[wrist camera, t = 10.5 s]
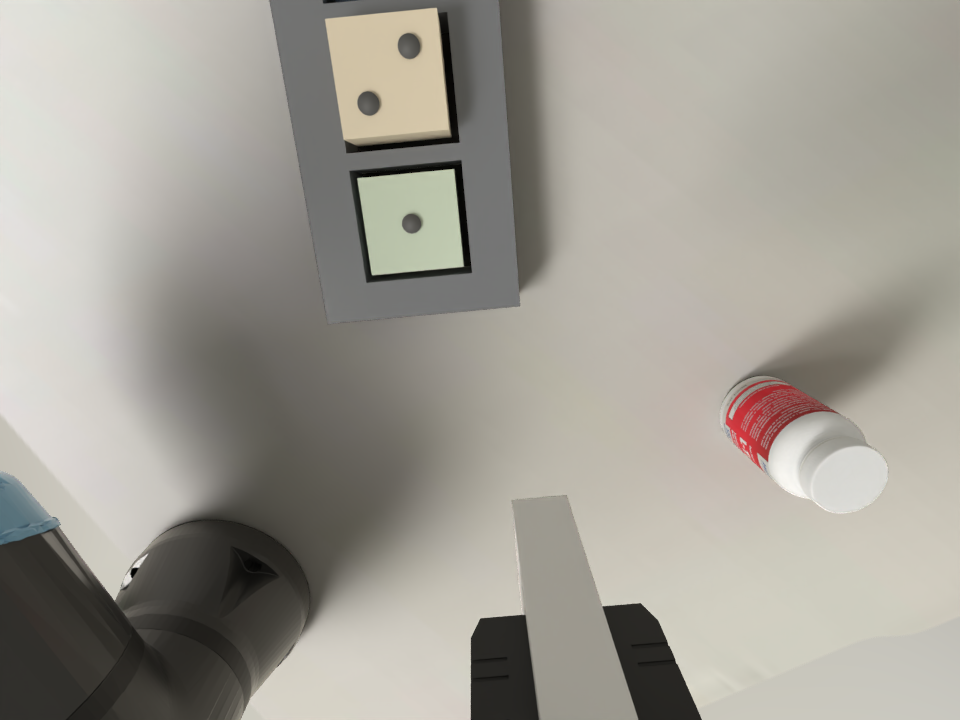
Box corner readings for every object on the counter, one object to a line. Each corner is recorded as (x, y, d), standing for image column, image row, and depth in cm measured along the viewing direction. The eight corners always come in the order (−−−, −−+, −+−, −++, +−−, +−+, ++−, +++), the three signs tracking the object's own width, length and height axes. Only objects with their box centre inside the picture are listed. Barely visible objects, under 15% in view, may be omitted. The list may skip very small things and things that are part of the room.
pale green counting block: (381, 267, 38) (371, 275, 34) (369, 180, 36) (356, 178, 32) (464, 259, 38) (463, 267, 34) (455, 172, 36) (453, 168, 32)
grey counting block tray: (341, 311, 39) (327, 324, 36) (262, -153, 31) (233, -201, 27) (515, 295, 39) (520, 306, 35) (481, -175, 31) (482, -228, 27)
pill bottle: (701, 422, 42) (777, 496, 32) (750, 359, 41) (847, 415, 30) (760, 457, 43) (853, 541, 33) (810, 398, 42) (924, 465, 31)
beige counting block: (358, 146, 34) (342, 139, 30) (342, 40, 32) (323, 17, 28) (451, 137, 34) (449, 129, 30) (441, 30, 32) (436, 6, 28)
